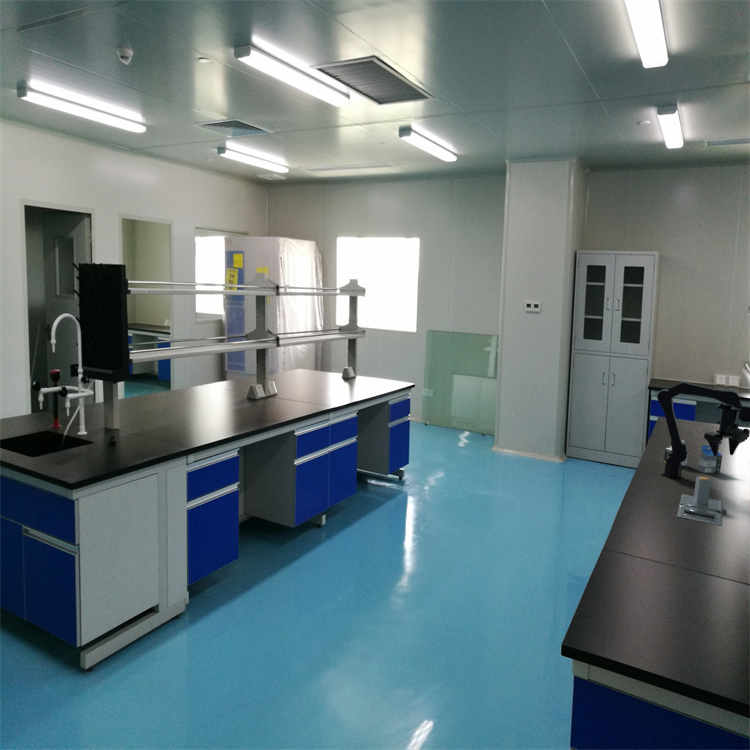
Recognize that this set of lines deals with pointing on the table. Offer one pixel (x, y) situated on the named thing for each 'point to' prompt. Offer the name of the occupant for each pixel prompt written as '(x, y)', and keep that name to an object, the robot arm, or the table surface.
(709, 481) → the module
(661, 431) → the table surface
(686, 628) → the table surface
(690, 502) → the case
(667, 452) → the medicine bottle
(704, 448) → the label tape cartridge
